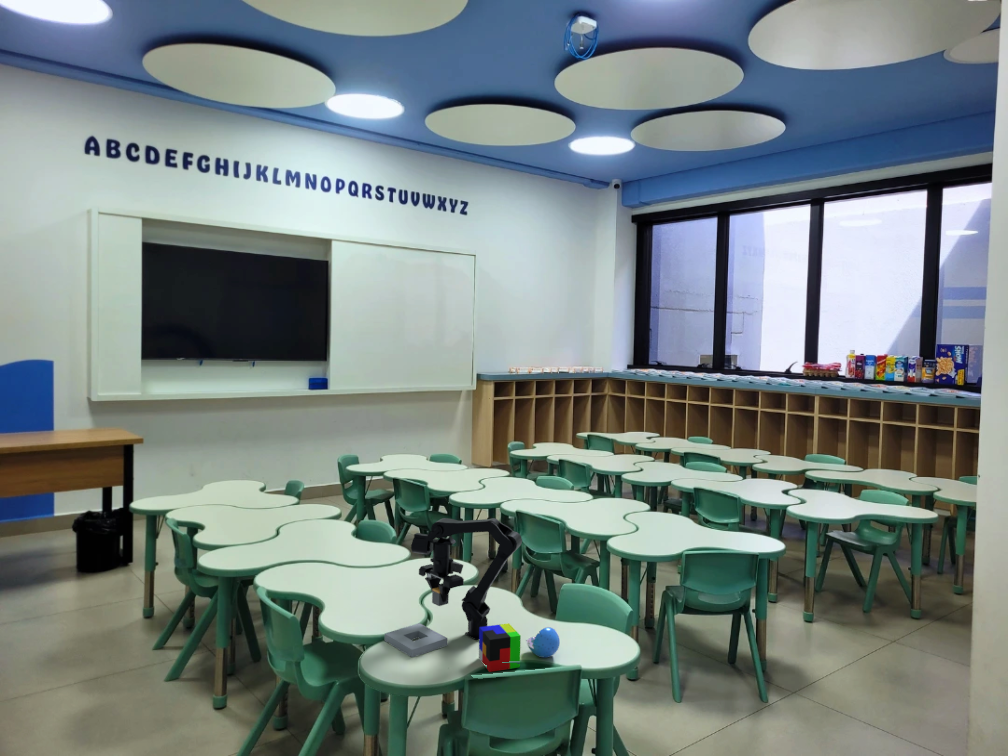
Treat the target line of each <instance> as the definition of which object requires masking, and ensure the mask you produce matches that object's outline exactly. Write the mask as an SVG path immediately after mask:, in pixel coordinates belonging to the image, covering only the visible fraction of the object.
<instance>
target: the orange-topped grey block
mask: <svg viewBox="0 0 1008 756" xmlns="http://www.w3.org/2000/svg"><path fill="white" fill-rule="evenodd" d="M431 592H432V595H431V600H432V601H431V603H432V604H433V605H436V606H438V607H441V606H444V605H447V604H448V605H449V597H450V596H449V594H450V593H449V594H448V597H447V599H446V602H442V598H441V594H440V589H439V587H437V588H433V589H432V591H431Z"/></svg>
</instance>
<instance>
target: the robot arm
mask: <svg viewBox="0 0 1008 756" xmlns="http://www.w3.org/2000/svg"><path fill="white" fill-rule="evenodd" d="M468 533H469V534H470V533H471V534H473V533H489V534H490V535H491V537H492V538H493V540H494V541H495V542H496V543H497V544H498V546H497V550H496V555H495V557H494V558H493V559H492V562H491V563H490V564H489V566H488V568H487V569H486V571H485V572H484V574H483V576H482V578H481V579H480V581H479V582H478V583H477V585H476V586H475V585H472V586H471V587H470V588H469V589H468V590H467V591H466V593H465V596H464V597H463V598H462V599H461V601H462V603H461V608H462V611H463V613H464V614H465V618H466V620H467V623H468V624H467V631H466V632H464V635H466V636H467V637H469V638H472V639H473V640H476V641H479V627H484V626H488V618H487V615H488V614H489V613H490V610H491V608H490V606H489V605H488V603H486V602H485V601H486V599H487V596H488V592H489V590H490V588H491V586H492V585H493V583H494V581H495V580H496V579H497V576H499V574H500V572H501V570H502V569H503V567H504V566H505V564H506V563H507V561H508V559H509V558H510V557H511V556H512V555H513V554H514V553H515V552H516V551H517V550H518V549H519V548H520V547H521V545H522V543H523V538H522V535H521V534H520V533H519V532H517V531H514V530H513V529H511V528H510V527H509V526H508V525H506V524H503V523H502V522H501V521H500V520H498V519H497V518H495V517H492V518H485V519H469V520H468V519H467V520H457V519H454V518H447V517H443V518H440V519H439V520H436V522H434V523H433V524H432V525H431V529H430V532H429V533H428V534H425V533H420V532H416V533H414V535H413V536H414V537H413V539H412V541H411V543H410V544H411V545H410V550H411V552H412V553H414V554H422V555H430V554H431V552H432V557H431V558H430V560H429V561H430V563H429V564H426V565H425V564H424V565H421V566H420V567H419V569H418V575H419V576H421V577H425V576H426V577H425V578H424V579H425V581H426V582H427V583H426V584H427V585H428V586H429V588H430V590H431V592H432V589H433V588H437V587H439V589H440V594H441V598H442V602H446V599H447V597H448V594H450V592H451V589H454V588H458V587H461V586H464V581H465V579H464V577H463V576H461V575H462V571H463V568H464V564H462V563H459V562H458V561H457V562H456V561H455V560H454V558H453V557H450V554H451V552H450V551H451V547H450V546H453V545H454V544H455V543H457V541H456V540H455V539H454V538H453V535H457V534H468ZM454 573H457V574H454ZM459 574H460V575H459ZM442 580H443V581H442ZM441 581H442V583H441ZM448 598H449V597H448Z"/></svg>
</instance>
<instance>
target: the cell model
mask: <svg viewBox="0 0 1008 756" xmlns="http://www.w3.org/2000/svg"><path fill="white" fill-rule="evenodd" d="M525 641H526V645H527V646H528V649H529V651H531V653H532V654H534V655H535V656H537V657H539V658H544V659H545V658H550V657H552V656H554V655H555V654H556V653H557V651H559V647H560V636H559V634H558V632H557V630H556V629H555V628H553V627H549V626H547V627H544V628H542V629H540V631H539V632H538V633H537V634H536V635H535V636H531V637H529V638H527V639H525Z"/></svg>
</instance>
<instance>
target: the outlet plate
mask: <svg viewBox="0 0 1008 756" xmlns="http://www.w3.org/2000/svg"><path fill="white" fill-rule="evenodd" d="M415 639H416V640H415ZM383 641H384V642H386V643H387V642H389V643H390V644H391V645H390V644H389V643H388V644H389V645H390V646H392V647H394V648H396V649H397V650H399V651H400V652H402V653H404V654H405V655H407V656H408V657H410V658H414V657H417V656H420V655H421V656H422V655H423V654H427V653H429V652H432V651H435V650H438V649H441V648H444V647H447V646H448V637H446V636H444V635H443V634H441V633H439V632H437V631H435V630H433V629H432V628H429V627H427V626H425V625H424V624H422V623H420V622H418V623H415V624H412V625H408V626H404V627H402V628H398V629H394V630H391V631H389V632H386V633H384V640H383Z"/></svg>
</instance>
